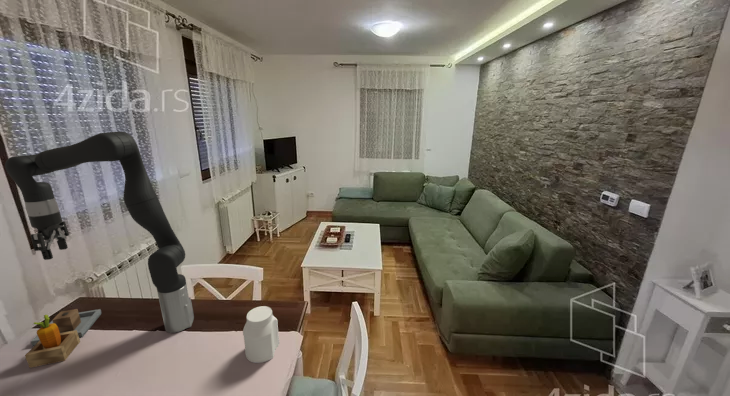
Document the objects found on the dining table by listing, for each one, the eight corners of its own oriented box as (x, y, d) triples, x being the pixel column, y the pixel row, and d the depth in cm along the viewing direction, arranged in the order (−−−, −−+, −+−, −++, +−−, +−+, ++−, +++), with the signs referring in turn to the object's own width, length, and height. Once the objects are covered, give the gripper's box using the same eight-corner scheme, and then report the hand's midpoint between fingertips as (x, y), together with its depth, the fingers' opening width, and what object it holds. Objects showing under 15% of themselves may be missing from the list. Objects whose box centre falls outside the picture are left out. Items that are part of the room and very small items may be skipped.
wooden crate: (80, 341, 103) (76, 330, 102) (65, 360, 95) (61, 348, 94) (47, 347, 100) (43, 336, 99) (29, 367, 92) (24, 355, 91)
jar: (256, 337, 107) (252, 302, 103) (281, 338, 106) (279, 303, 102) (242, 362, 95) (237, 324, 91) (270, 364, 95) (266, 326, 91)
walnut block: (81, 321, 112) (77, 308, 111) (73, 330, 108) (69, 316, 106) (64, 324, 111) (60, 311, 109) (56, 333, 106) (52, 319, 105)
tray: (101, 313, 118) (100, 309, 118) (82, 337, 106) (81, 332, 105) (57, 321, 114) (56, 316, 113) (32, 346, 101) (30, 341, 100)
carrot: (53, 361, 95) (39, 323, 91) (41, 359, 96) (27, 321, 92) (70, 349, 100) (57, 313, 96) (59, 347, 101) (46, 311, 96)
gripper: (43, 217, 95) (57, 261, 99) (69, 205, 108) (80, 244, 112) (13, 219, 93) (28, 264, 97) (43, 207, 106) (55, 247, 110)
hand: (56, 253), depth 105 cm, fingers open, 8 cm apart
